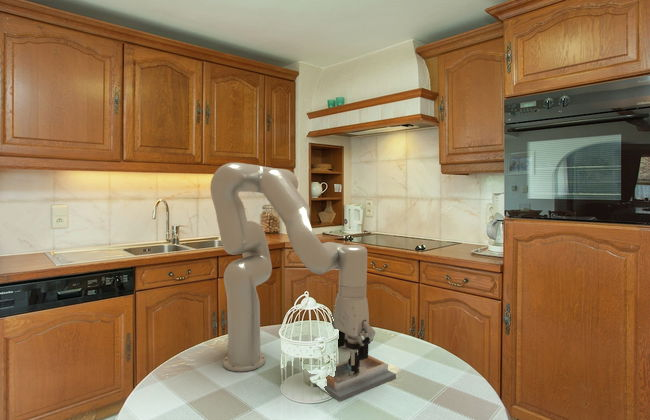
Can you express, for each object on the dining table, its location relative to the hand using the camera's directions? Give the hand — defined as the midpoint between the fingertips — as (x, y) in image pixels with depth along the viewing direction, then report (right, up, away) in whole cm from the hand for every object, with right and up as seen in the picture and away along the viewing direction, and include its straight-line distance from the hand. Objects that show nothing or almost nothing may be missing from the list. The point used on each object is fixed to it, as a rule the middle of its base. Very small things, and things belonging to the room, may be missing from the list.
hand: (350, 352), depth 108 cm
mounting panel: (+1, -8, 0) cm, 8 cm away
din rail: (+1, -6, 0) cm, 6 cm away
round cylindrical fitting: (+1, -6, 0) cm, 6 cm away
